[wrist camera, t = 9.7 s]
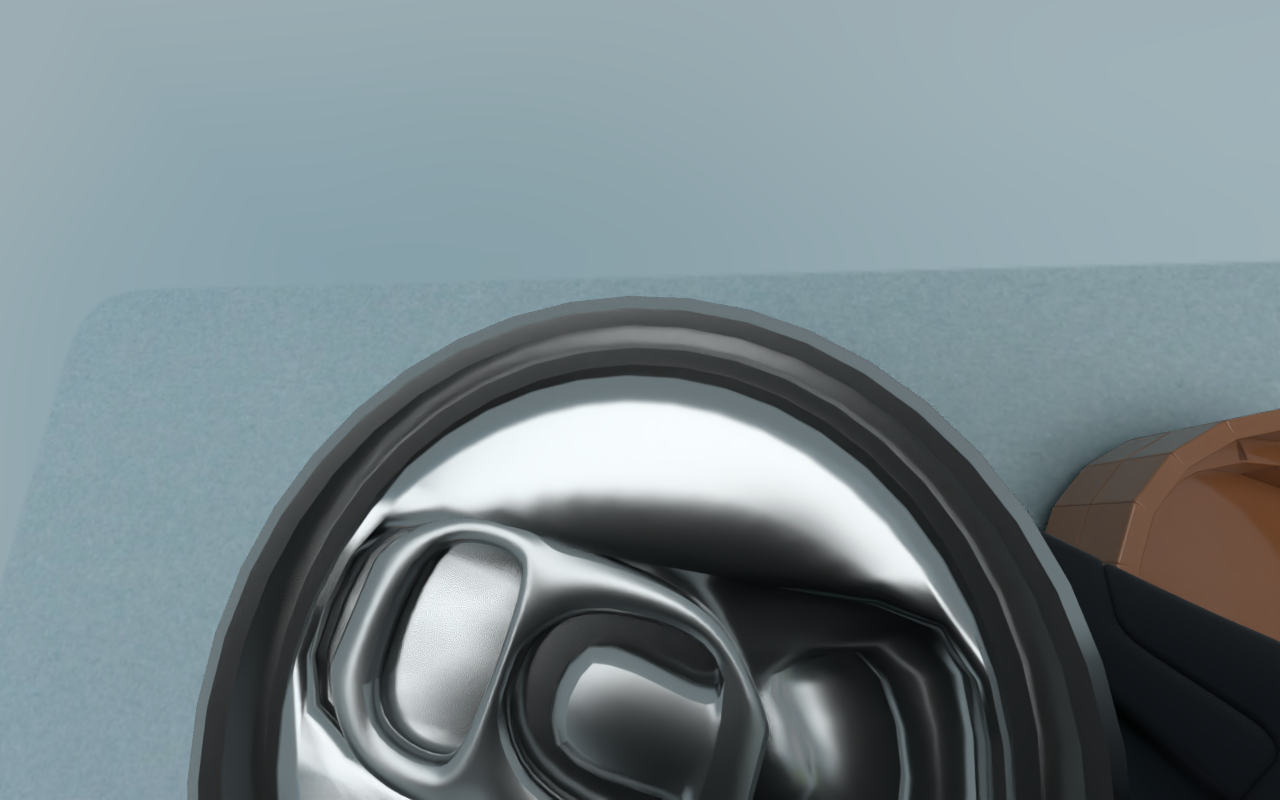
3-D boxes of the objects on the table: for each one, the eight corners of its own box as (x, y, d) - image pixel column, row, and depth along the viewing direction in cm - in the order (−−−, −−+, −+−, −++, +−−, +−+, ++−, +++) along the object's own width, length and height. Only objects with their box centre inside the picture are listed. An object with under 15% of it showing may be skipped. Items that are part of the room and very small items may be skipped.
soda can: (751, 707, 13) (1167, 2025, 2) (559, 632, 14) (-107, 1105, 2) (805, 506, 14) (1306, 372, 3) (623, 447, 15) (374, 145, 3)
